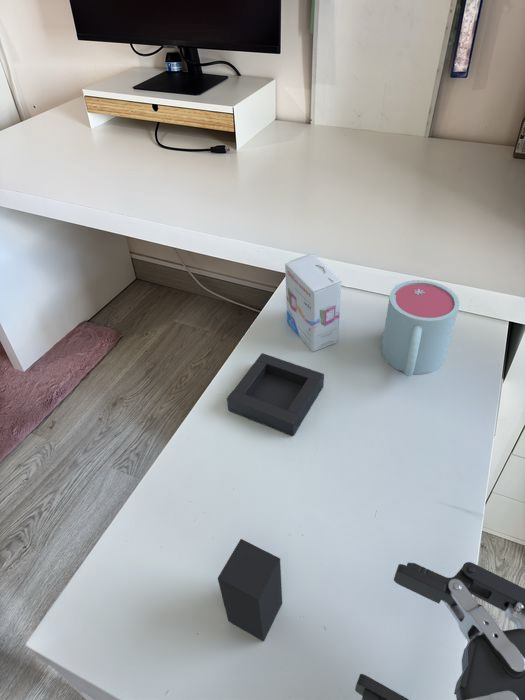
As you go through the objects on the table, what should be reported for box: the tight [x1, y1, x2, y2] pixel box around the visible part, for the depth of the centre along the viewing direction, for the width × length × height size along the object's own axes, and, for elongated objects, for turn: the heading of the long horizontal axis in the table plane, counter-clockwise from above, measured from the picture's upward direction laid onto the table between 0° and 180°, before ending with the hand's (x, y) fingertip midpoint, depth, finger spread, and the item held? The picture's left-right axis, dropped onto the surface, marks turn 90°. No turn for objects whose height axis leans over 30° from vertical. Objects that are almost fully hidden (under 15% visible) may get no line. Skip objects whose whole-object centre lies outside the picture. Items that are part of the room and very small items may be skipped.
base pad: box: [226, 352, 325, 437], centre depth 70 cm, size 10×10×3 cm
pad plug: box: [217, 538, 283, 642], centre depth 47 cm, size 4×4×10 cm
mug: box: [380, 279, 460, 377], centre depth 71 cm, size 14×9×10 cm
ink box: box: [284, 253, 342, 352], centre depth 76 cm, size 9×5×12 cm, turn 27°
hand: (377, 623), depth 38 cm, fingers open, 8 cm apart
